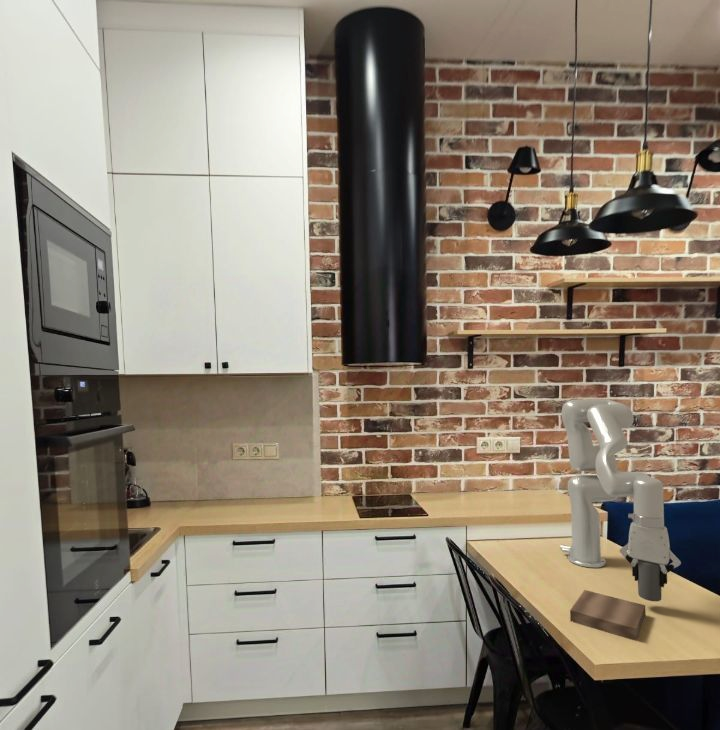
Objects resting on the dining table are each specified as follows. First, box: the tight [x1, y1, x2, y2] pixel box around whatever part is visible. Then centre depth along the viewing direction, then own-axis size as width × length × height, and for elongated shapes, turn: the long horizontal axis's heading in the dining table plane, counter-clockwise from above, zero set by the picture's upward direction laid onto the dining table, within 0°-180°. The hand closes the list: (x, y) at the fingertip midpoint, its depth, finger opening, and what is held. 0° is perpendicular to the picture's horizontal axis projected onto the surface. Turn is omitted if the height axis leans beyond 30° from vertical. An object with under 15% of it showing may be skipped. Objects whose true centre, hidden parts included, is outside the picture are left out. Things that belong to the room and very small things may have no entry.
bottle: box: [637, 560, 663, 602], centre depth 136 cm, size 6×6×15 cm
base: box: [569, 589, 647, 642], centre depth 131 cm, size 16×16×3 cm
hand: (649, 581), depth 136 cm, fingers closed on bottle, 5 cm apart
